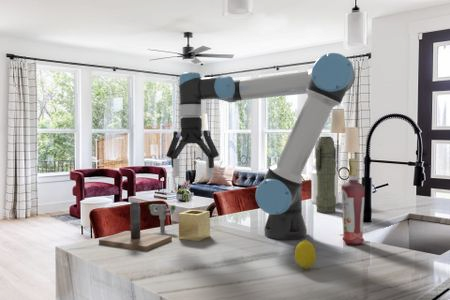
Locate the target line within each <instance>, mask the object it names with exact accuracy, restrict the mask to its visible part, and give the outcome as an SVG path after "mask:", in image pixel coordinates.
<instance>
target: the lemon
mask: <svg viewBox="0 0 450 300" xmlns="http://www.w3.org/2000/svg"><path fill="white" fill-rule="evenodd" d="M316 258H317V254H316V248H315V246H314V245H313V244H312V243H311V242H310V241H308V240H307V239H303V240H302V241H300V242H298V243H297V245H296V247H295V250H294V260H295V262H296V264H297V265H298V266H299V267H301V268H303V269H304V270H307V269H308V268H310V267H312V266H313V265H314V264H315V261H316Z"/></svg>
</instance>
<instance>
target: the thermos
mask: <svg viewBox="0 0 450 300" xmlns="http://www.w3.org/2000/svg"><path fill="white" fill-rule="evenodd" d="M315 158H316V174H317V197H316V204H315V207H316V212H317V213H319V214H335V213H336V207H337V204H336V197H335V174H336V170H337V167H336V162H337V159H336V158H337V149H336V147H335V141H334V139H333V137H331V136H320V137H319V138H318V140H317V147H316V148H315Z"/></svg>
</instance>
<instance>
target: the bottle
mask: <svg viewBox="0 0 450 300" xmlns="http://www.w3.org/2000/svg"><path fill="white" fill-rule="evenodd" d="M311 166H312V168H313V170H312V171H311V173H310V174H311V200H310V201H311V203H312V204H313V205H316V197H317V174H316V157H314V159H313V161H312V164H311ZM338 166H339V165H338V162H337V161H336V168H337V167H338ZM335 197H336V205H338V204H339V201H340V200H339V171H338V170H337V169H336V174H335Z"/></svg>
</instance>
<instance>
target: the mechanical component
mask: <svg viewBox="0 0 450 300" xmlns="http://www.w3.org/2000/svg"><path fill="white" fill-rule="evenodd" d="M148 209H149V210H150V214H151V215H152V216H158V217H159V218H158V219H159V220H160V221H159V223H160V224H159V225H160V226H159V227H160V230H159V231H160V232H164V231H165V230H166V229H165V220H166V219H167V218H166V216H171V215H173V214H175V211H176V209H177V207H176V205H174V204H171V205H170V207H169V208H168V207H167V204H166V203H165V204H164V203H152V204H149V205H148Z"/></svg>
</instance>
